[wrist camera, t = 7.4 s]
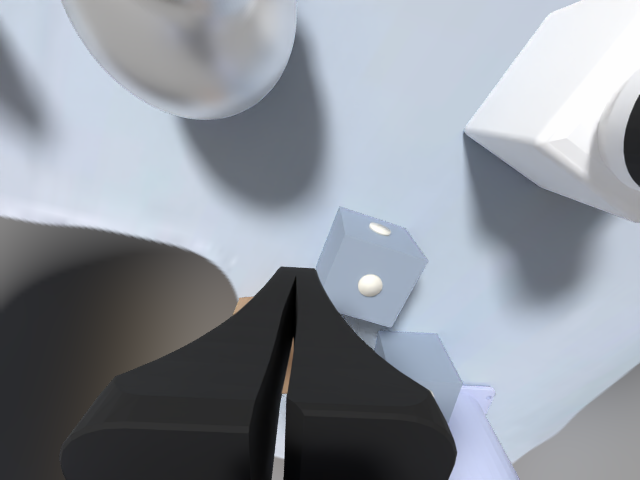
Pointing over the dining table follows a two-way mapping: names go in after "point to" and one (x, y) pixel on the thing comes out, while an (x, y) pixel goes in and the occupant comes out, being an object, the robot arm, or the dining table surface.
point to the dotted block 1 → (369, 267)
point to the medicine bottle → (573, 107)
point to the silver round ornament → (189, 50)
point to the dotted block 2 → (423, 364)
